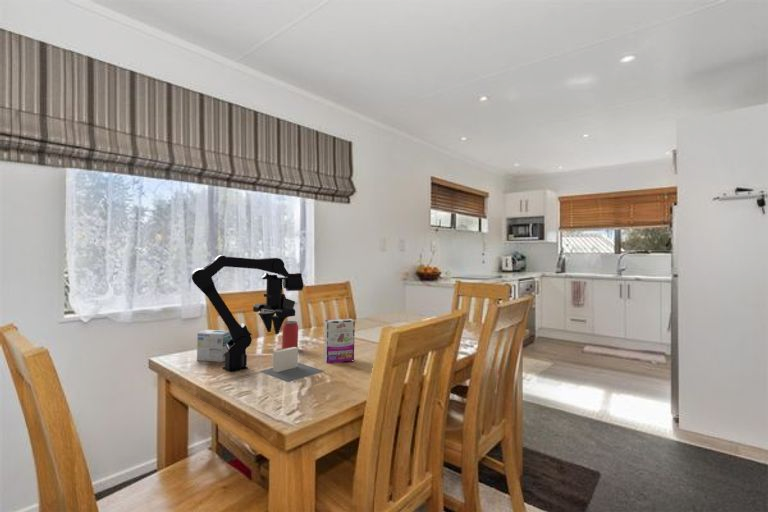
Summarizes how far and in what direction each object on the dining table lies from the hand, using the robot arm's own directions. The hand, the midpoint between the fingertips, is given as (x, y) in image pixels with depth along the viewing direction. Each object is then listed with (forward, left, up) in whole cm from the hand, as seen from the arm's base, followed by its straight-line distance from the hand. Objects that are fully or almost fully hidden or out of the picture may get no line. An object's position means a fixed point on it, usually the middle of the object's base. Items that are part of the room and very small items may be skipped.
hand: (273, 332), depth 142 cm
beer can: (+18, +13, -12) cm, 25 cm away
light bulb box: (-11, +22, -12) cm, 28 cm away
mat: (0, -12, -12) cm, 17 cm away
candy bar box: (+21, -14, -12) cm, 28 cm away
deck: (0, -8, -12) cm, 14 cm away
